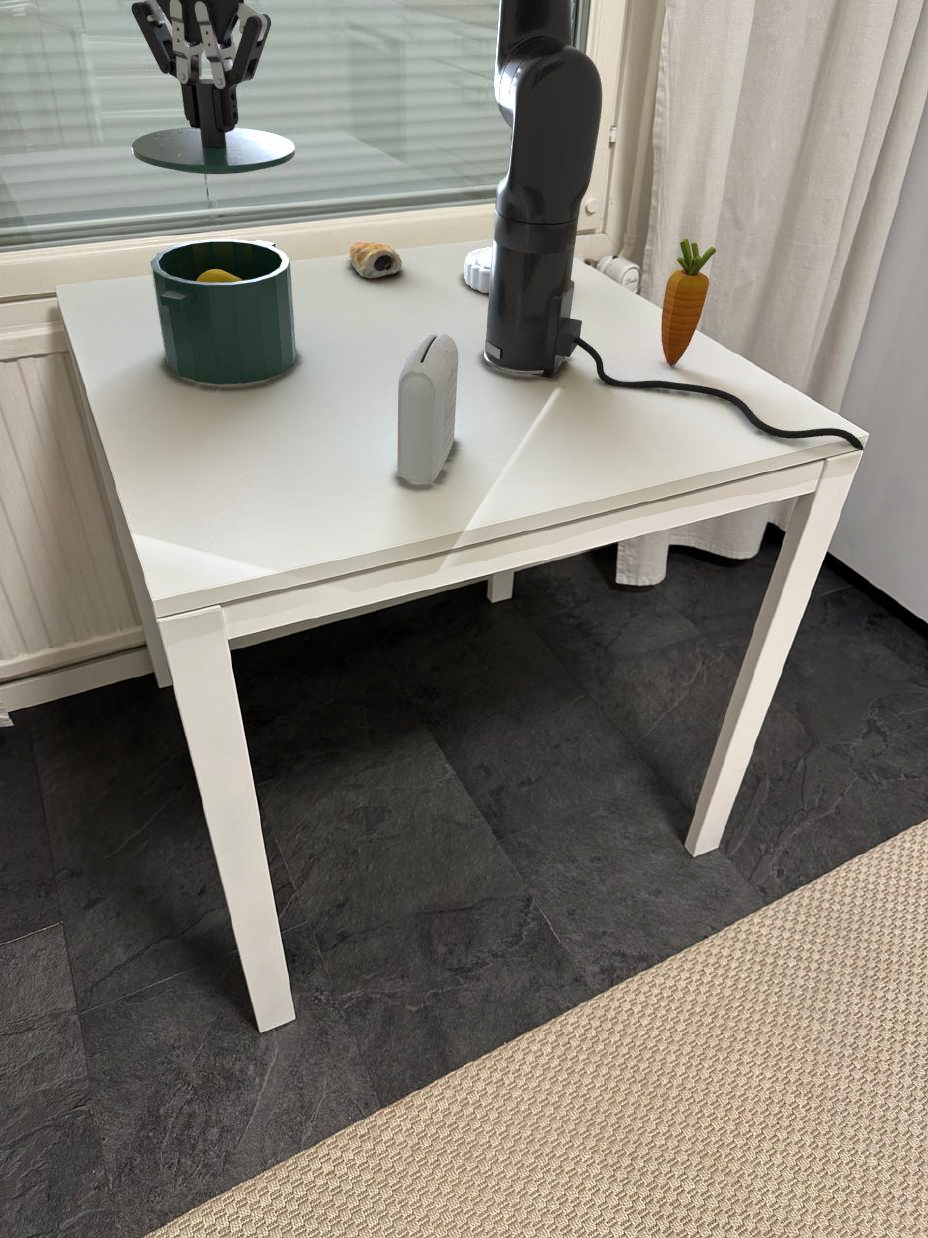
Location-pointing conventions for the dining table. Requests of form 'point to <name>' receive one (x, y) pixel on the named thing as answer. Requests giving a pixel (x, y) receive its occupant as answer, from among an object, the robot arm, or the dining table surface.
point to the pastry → (374, 259)
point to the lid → (212, 144)
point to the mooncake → (478, 269)
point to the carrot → (684, 302)
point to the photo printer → (427, 407)
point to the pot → (225, 311)
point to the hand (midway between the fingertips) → (213, 127)
